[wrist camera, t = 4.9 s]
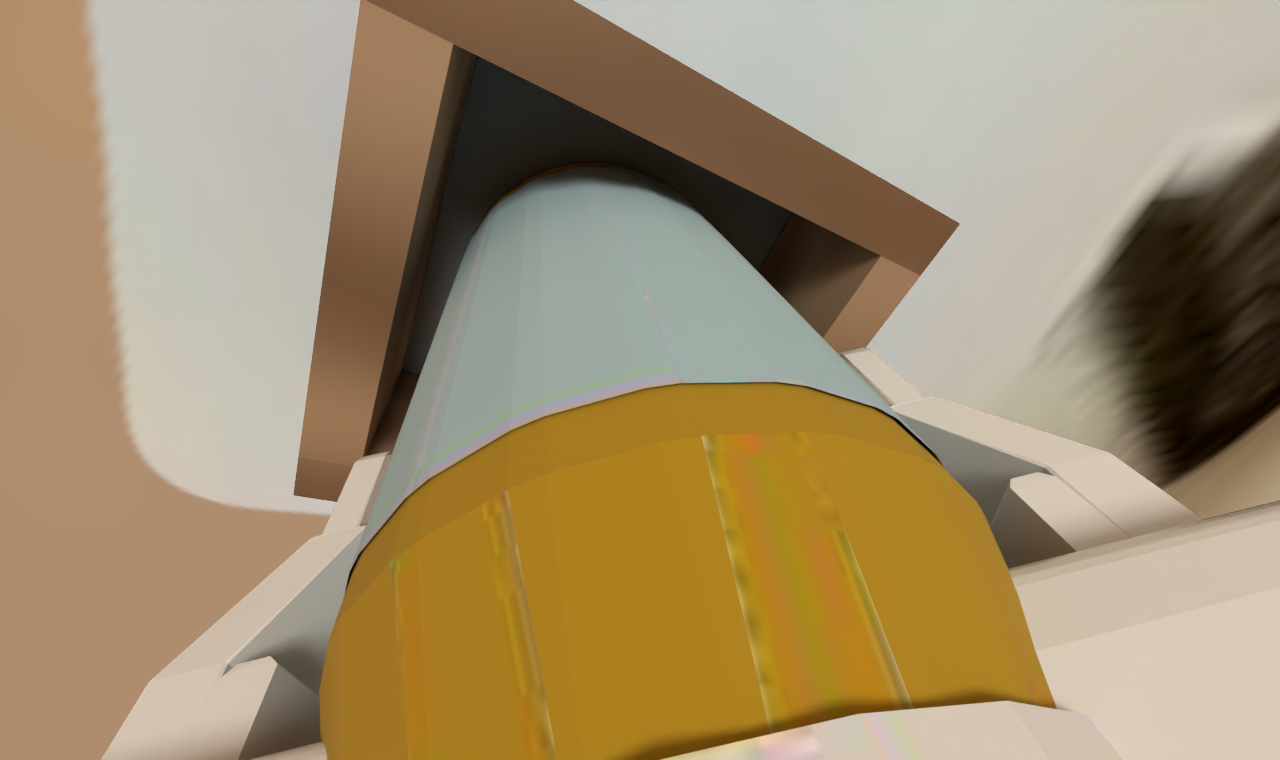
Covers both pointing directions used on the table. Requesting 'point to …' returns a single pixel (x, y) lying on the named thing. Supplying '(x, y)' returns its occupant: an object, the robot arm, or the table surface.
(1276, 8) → the table surface
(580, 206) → the bottle
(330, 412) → the pocket
